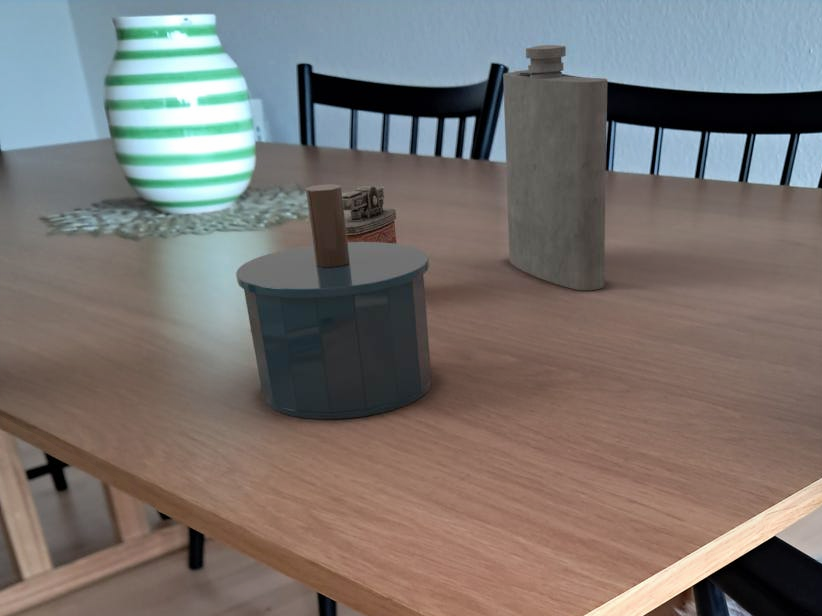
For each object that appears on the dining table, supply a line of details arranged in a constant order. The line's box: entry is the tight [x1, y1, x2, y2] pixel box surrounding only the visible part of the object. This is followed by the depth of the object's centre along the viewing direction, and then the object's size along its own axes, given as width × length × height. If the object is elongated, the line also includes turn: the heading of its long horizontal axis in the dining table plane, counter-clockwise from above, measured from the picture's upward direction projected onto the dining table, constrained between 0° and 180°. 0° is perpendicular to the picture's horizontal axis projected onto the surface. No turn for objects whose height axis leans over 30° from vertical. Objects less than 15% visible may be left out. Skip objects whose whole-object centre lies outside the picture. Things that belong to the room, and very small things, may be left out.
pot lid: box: [235, 183, 430, 298], centre depth 70 cm, size 14×14×6 cm
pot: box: [243, 274, 432, 420], centre depth 74 cm, size 13×13×8 cm
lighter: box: [342, 185, 398, 244], centre depth 95 cm, size 8×3×10 cm, turn 154°
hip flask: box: [502, 44, 608, 292], centre depth 97 cm, size 16×4×20 cm, turn 26°
